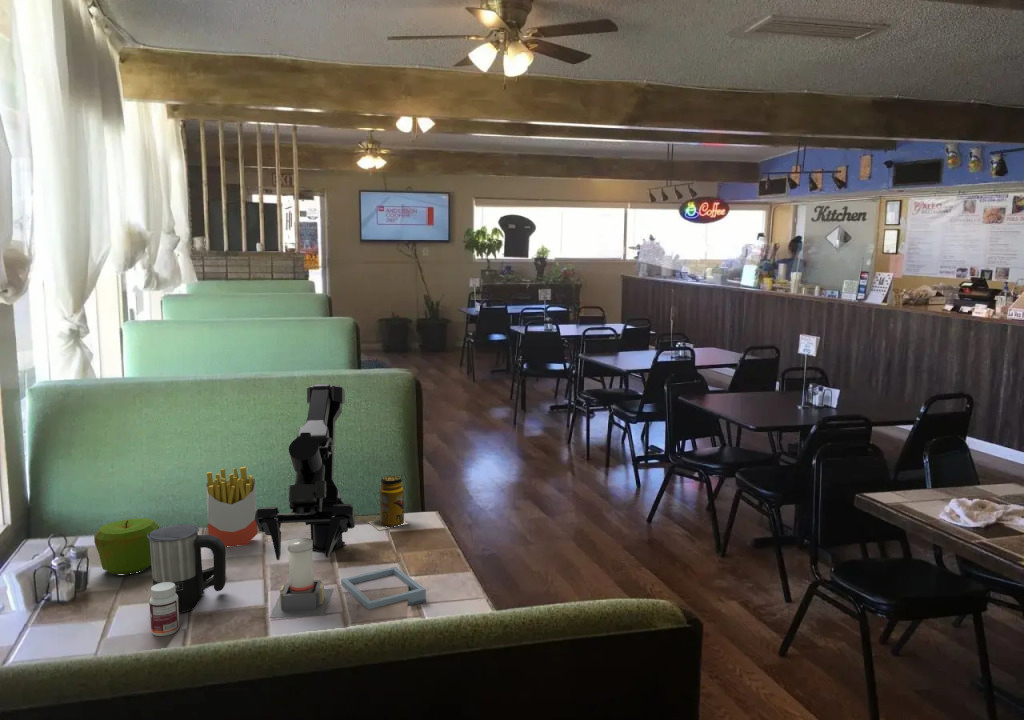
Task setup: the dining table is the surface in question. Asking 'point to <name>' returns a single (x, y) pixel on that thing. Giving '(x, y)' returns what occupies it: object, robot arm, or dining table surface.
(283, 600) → the fuse holder
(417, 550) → the dining table surface
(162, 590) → the pill bottle
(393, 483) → the condiment
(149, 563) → the apple
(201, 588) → the milk frother
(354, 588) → the tray
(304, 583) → the cylinder
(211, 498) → the french fries container
